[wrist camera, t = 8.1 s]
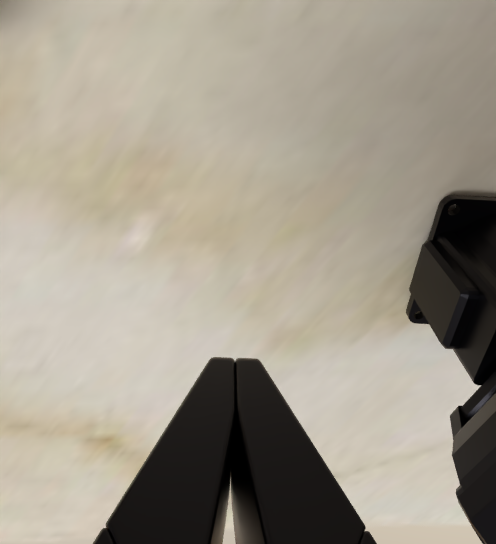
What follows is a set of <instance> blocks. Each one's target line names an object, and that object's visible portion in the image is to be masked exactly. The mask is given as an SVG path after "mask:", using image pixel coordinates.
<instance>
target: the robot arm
mask: <svg viewBox="0 0 496 544" xmlns="http://www.w3.org/2000/svg"><path fill="white" fill-rule="evenodd" d="M454 204H456V207H455V209H454V210H452V211H449V212H448V208H449V207H450V206H451V205H454ZM409 291H410V292H411V296H410V300H409V303H408V306H407V309H406V314H407V316H408V318H409V320H410V321H411V322H413V323H419V324H430V326H431V328H432V329H433V331H434V333H435V334H436V336H437V338H438V340H439V341H440V343H441V344H442V345H443V346H444V347H445V348H446V349H453V350H454V352H455V353H456V355H457V356H458V358H459V360H460V361H461V363H462V364H463V366H464V368H465V369H466V371H467V372H468V374H469V376H470V377H471V379H472V381H473V382H474V383H475V384H476V385H482V386H481V387H480V388H479V389H478V390H477V391H476V392H475V393H474V394H473V395H472V396H471V397H470V399H469V400H468V401H467V402H466V403H465V404H464V405H463V406H458V407H457V408H456V409H455V410H454V412H453V413H452V414H451V415H450V420H451V427H452V433H453V440H454V441H453V451H452V457H453V460H454V464H455V468H456V471H457V475H458V478H459V482H460V486H459V487H458V488H457V489H456V495H457V499H458V502H459V504H460V506H461V508H462V509H463V511H464V513H465V515H466V517H467V518H468V520H469V522H470V524H471V525H472V527H473V529H474V530H475V532H476V534H477V535H478V537H479V538H480V540H481V541H482V543H483V544H496V197H479V196H461V195H450V196H447V197H445V198H444V199H443V200H442V201H441V202H440V204H439V206H438V209H437V212H436V215H435V219H434V222H433V225H432V228H431V232H430V235H429V238H428V241H426V242H425V243H424V244H423V246H422V249H421V252H420V255H419V259H418V262H417V265H416V268H415V272H414V275H413V278H412V282H411V285H410V288H409ZM417 311H421V312H420V313H419V314H415V313H416V312H417ZM230 477H231V498H232V510H233V520H234V531H235V540H236V544H377V543H376V542H375V540H374V539H373V537H372V535H371V534H370V532H368V531H365V525H364V523H363V522H362V520H361V519H360V517H359V515H358V514H357V512H356V511H355V509H354V508H353V506H352V504H351V503H350V501H349V500H348V498H347V497H346V495H345V493H344V492H343V490H342V489H341V487H340V486H339V484H338V482H337V481H336V479H335V478H334V476H333V475H332V473H331V471H330V470H329V468H328V467H327V465H326V464H325V462H324V460H323V459H322V457H321V456H320V454H319V453H318V451H317V449H316V448H315V446H314V445H313V443H312V442H311V440H310V438H309V437H308V435H307V434H306V432H305V431H304V429H303V427H302V426H301V424H300V423H299V421H298V420H297V418H296V416H295V415H294V413H293V412H292V410H291V409H290V407H289V405H288V404H287V402H286V401H285V399H284V398H283V396H282V394H281V393H280V391H279V390H278V388H277V387H276V385H275V383H274V382H273V380H272V379H271V377H270V376H269V374H268V372H267V371H266V369H265V368H264V366H263V365H262V363H261V362H260V361H259V360H258V359H251V358H238V359H236V361H234V359H232V358H221V357H213V358H211V359H210V360H209V361H208V363H207V365H206V366H205V368H204V369H203V371H202V372H201V374H200V376H199V377H198V379H197V380H196V382H195V383H194V385H193V387H192V388H191V390H190V391H189V393H188V395H187V396H186V398H185V399H184V401H183V402H182V404H181V406H180V407H179V409H178V410H177V412H176V413H175V415H174V417H173V418H172V420H171V421H170V423H169V425H168V426H167V428H166V429H165V431H164V432H163V434H162V436H161V437H160V439H159V440H158V442H157V443H156V445H155V447H154V448H153V450H152V451H151V453H150V455H149V456H148V458H147V459H146V461H145V462H144V464H143V466H142V467H141V469H140V470H139V472H138V473H137V475H136V477H135V478H134V480H133V481H132V483H131V485H130V486H129V488H128V489H127V491H126V492H125V494H124V496H123V497H122V499H121V500H120V502H119V503H118V505H117V507H116V508H115V510H114V511H113V513H112V515H111V516H110V518H109V519H108V521H107V523H106V528H103V529H102V530H101V531H100V533H99V535H98V536H97V538H96V539H95V541H94V542H93V544H222V542H223V535H224V528H225V521H226V514H227V507H228V499H229V490H230ZM364 531H365V532H364Z"/></svg>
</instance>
